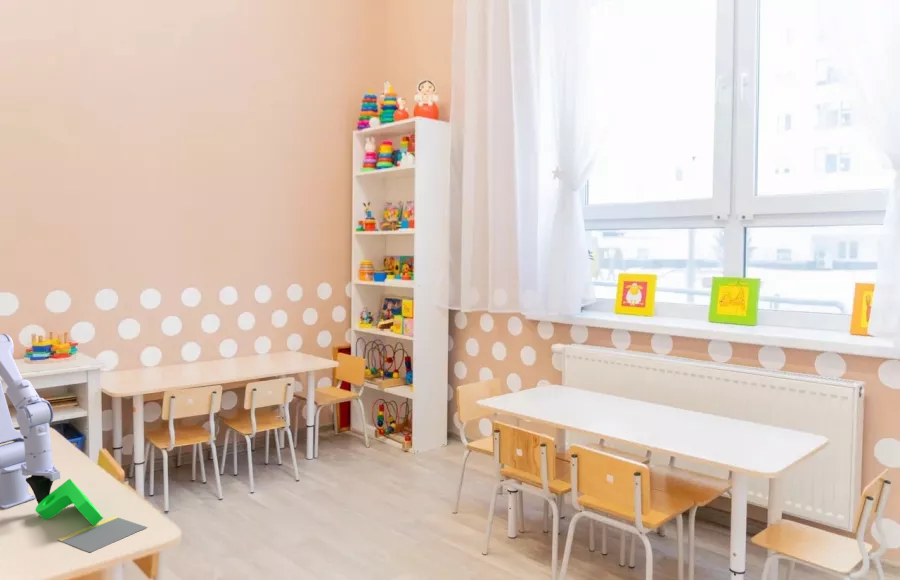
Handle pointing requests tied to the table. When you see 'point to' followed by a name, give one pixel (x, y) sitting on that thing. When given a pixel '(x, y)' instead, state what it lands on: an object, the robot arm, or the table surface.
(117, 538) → the mat
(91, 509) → the bracket
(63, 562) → the table surface
